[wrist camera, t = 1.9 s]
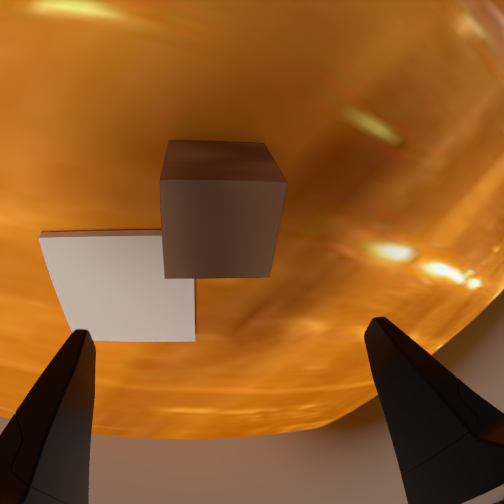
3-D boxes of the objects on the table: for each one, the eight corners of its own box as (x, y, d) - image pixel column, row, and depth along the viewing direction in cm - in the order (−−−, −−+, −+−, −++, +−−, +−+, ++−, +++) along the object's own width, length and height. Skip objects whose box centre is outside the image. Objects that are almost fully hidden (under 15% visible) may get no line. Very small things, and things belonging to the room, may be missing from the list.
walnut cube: (263, 142, 17) (287, 182, 13) (252, 221, 20) (269, 277, 16) (168, 140, 16) (159, 180, 12) (169, 221, 19) (164, 278, 15)
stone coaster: (194, 229, 19) (194, 235, 19) (194, 335, 25) (195, 341, 25) (41, 232, 17) (38, 237, 17) (76, 333, 23) (75, 339, 23)
